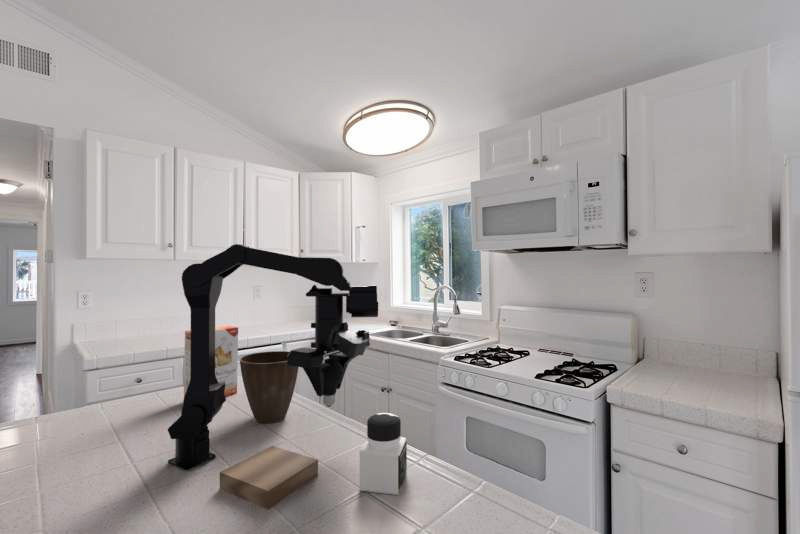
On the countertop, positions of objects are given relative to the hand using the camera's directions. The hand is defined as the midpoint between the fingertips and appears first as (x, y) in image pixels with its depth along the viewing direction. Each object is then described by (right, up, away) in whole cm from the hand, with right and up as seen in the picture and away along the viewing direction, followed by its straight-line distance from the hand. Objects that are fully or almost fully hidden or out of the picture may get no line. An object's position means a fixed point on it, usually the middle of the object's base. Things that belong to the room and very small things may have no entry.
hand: (328, 392), depth 83 cm
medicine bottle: (+12, -13, -11) cm, 21 cm away
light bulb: (0, -3, 0) cm, 3 cm away
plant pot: (-19, -13, +20) cm, 30 cm away
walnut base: (-9, -13, -11) cm, 19 cm away
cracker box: (-42, -13, +36) cm, 57 cm away
